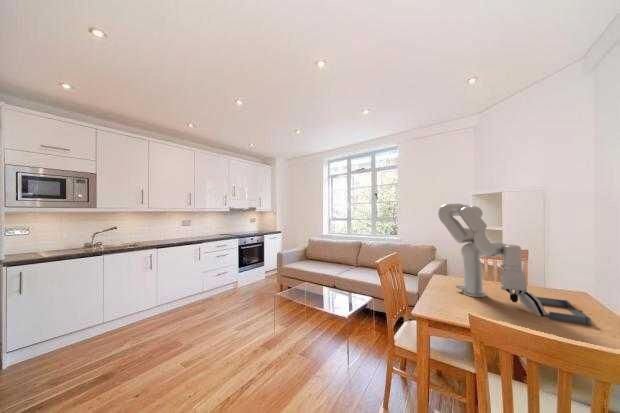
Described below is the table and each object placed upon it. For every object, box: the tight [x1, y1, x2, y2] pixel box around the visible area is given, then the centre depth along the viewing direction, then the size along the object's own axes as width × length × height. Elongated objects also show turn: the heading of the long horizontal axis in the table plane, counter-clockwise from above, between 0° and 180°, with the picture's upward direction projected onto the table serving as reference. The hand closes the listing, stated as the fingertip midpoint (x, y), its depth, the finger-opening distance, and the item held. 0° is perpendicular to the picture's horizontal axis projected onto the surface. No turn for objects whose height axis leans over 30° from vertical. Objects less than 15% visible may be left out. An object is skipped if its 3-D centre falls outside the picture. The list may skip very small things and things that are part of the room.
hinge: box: [518, 290, 549, 317], centre depth 122 cm, size 17×5×10 cm, turn 160°
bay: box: [535, 296, 592, 327], centre depth 117 cm, size 13×23×4 cm, turn 150°
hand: (514, 301), depth 126 cm, fingers closed
